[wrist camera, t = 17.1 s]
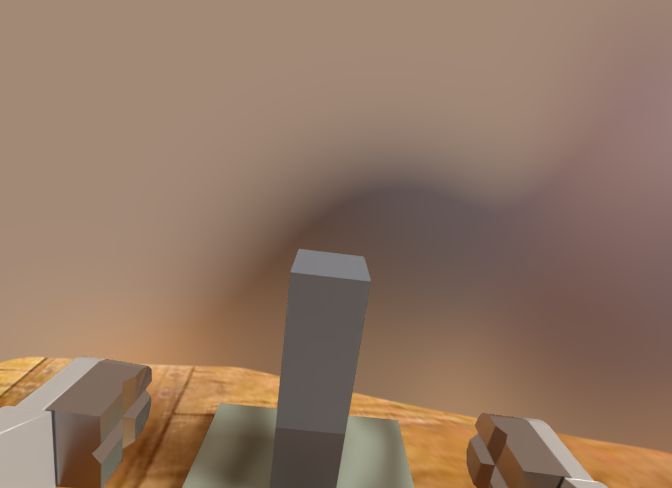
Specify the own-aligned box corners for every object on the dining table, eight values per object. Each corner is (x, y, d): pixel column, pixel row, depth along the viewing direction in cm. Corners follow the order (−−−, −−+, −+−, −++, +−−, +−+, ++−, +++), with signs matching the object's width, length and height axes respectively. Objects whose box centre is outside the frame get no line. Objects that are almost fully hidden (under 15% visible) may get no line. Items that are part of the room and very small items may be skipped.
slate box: (269, 494, 27) (290, 272, 22) (279, 438, 32) (298, 249, 27) (334, 500, 27) (370, 281, 22) (334, 444, 33) (363, 256, 27)
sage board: (160, 552, 24) (159, 537, 23) (219, 414, 36) (220, 403, 36) (427, 572, 25) (431, 558, 24) (395, 430, 37) (397, 420, 37)
